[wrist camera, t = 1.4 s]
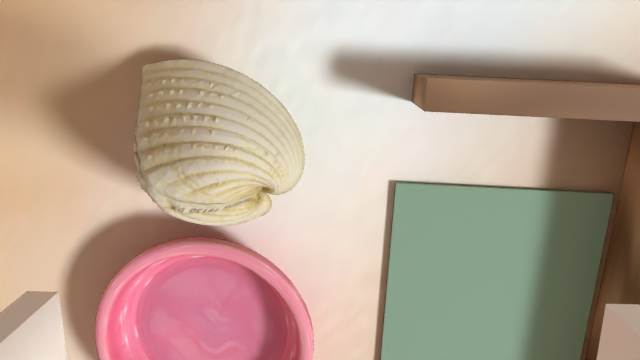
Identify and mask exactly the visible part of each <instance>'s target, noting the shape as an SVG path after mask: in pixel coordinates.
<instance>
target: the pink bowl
mask: <svg viewBox="0 0 640 360" xmlns="http://www.w3.org/2000/svg"><path fill="white" fill-rule="evenodd" d="M95 341H96V347H97V352H98V356H99V360H312V359H313V351H314V339H313V328H312V323H311V319H310V316H309V313H308V310H307V307H306V305H305V303H304V301H303V299H302V297H301V295H300V294H299V292H298V290H297V289H296V287H295V286H294V285H293V283H292V282H291V281H290V280H289V278H288V277H287V276H286V275H285V274H284V273H283V272H282V271H281V270H280V269H279V268H278V267H277V266H275V265H274V264H273V263H272V262H270V261H269V260H268V259H266V258H265V257H263V256H261V255H260V254H258V253H256V252H254V251H253V250H251V249H248V248H246V247H244V246H241V245H239V244H235V243H232V242H229V241H225V240H220V239H215V238H204V237H192V238H182V239H176V240H171V241H168V242H164V243H161V244H159V245H156V246H154V247H151V248H149V249H147V250H145V251H144V252H142V253H140V254H139V255H137V256H136V257H135V258H133V259H132V260H131V261H129V262H128V263H127V264H126V265H125V266H124V267H123V268H122V269H121V270H120V271H119V272H118V273H117V274H116V275H115V276H114V277H113V279H112V280H111V282H110V283H109V285H108V286H107V288H106V289H105V291H104V293H103V295H102V298H101V300H100V303H99V306H98V310H97V315H96V321H95Z"/></svg>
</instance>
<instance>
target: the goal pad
mask: <svg viewBox="0 0 640 360" xmlns="http://www.w3.org/2000/svg"><path fill="white" fill-rule="evenodd" d="M613 196H614V194H612V193H601V192H582V191H562V190H543V189H523V188H504V187H484V186H465V185H445V184H426V183H407V182H396V184H395V195H394V207H393V218H392V230H391V241H390V253H389V264H388V276H387V288H386V299H385V311H384V322H383V334H382V345H381V357H380V360H580V358H581V353H582V348H583V344H584V339H585V334H586V329H587V324H588V319H589V314H590V309H591V304H592V299H593V294H594V289H595V285H596V280H597V275H598V270H599V265H600V260H601V255H602V250H603V245H604V240H605V235H606V230H607V226H608V221H609V216H610V211H611V206H612V201H613Z"/></svg>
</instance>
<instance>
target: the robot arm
mask: <svg viewBox="0 0 640 360" xmlns="http://www.w3.org/2000/svg"><path fill="white" fill-rule="evenodd" d="M0 360H67V355H66V347H65V340H64V332H63V324H62V317H61V309H60V302H59V294H58V292H35V291H27V292H26V293H24V294H23V295H22V296H21V297H19V298H18V299H17V300H16V301H14V302H13V303H12V304H10V305H9V306H8V307H7V308H5V309H4V310H3V311H2V312H0ZM597 360H640V305H639V304H606V306H605V312H604V318H603V324H602V330H601V336H600V342H599V348H598V354H597Z"/></svg>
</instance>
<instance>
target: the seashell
mask: <svg viewBox="0 0 640 360" xmlns="http://www.w3.org/2000/svg"><path fill="white" fill-rule="evenodd" d="M141 90H142V92H141V94H140V105H139V108H138V118H137V121H136V124H135V134H134V136H135V138H134V141H133V145H134V147H133V151H134V152H135V156H134V160H135V164H136V167H137V172H138V173H137V178H138V181H139V183H140V185H141V188H142V189H143V190H144V191H145V192H146V193H147V194H148V195H149V196H150V197H151V199H152V201H153V202H155V203H156V204H157V205H158V207H159V208H161V209H162V210H163V211H164V212H166V213H167V214H169V215H171V216H173V217H176V218H179V219H181V220H184V221H187V222H190V223H196V224H202V225H212V226H230V225H235V224H240V223H244V222H247V221H250V220H252V219H255V218H257V217H259V216H263V215H265V214H266V213H267V212H269V210H270V209H271V206H272V201H271V199H270V197H269V195H268V194H267V193H269V194H273V195H279V194H283V193H286V192H288V191H290V190H291V189H292V188H293V187H294V186H295V185H296V184H297V183H298V181H299V180H300V178H301V175H302V173H303V169H304V161H305V154H304V146H303V142H302V138H301V135H300V132H299V130H298V128H297V126H296V124H295V122H294V121H293V119H292V117H291V115H290V114H289V112H288V111H287V109H286V108H285V107H284V106H283V105H282V104H281V102H280V101H279V100H278V99H277V98H276V97H275V96H274V95H272V94H271V93H270V92H269V91H268V90H267V89H266V88H264V87H263V86H262V85H261V84H259V83H258V82H256V81H254V80H253V79H251V78H249V77H248V76H246V75H244V74H242V73H240V72H238V71H235V70H233V69H230V68H228V67H225V66H222V65H218V64H214V63H210V62H205V61H199V60H185V59H178V60H167V61H161V62H157V63H151V64H146V65H144V66H143V68H142V84H141Z"/></svg>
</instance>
